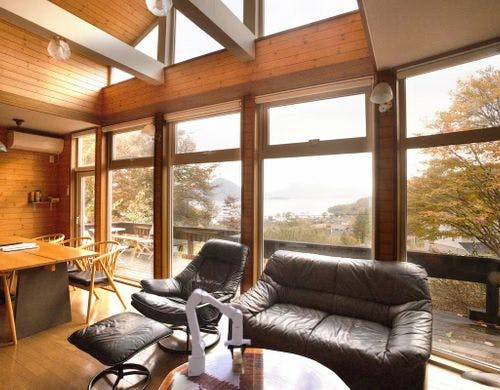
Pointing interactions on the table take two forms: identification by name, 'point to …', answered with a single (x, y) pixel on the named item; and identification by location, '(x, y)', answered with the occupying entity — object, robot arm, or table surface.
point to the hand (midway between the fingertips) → (237, 358)
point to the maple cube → (237, 357)
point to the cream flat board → (237, 373)
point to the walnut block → (236, 368)
